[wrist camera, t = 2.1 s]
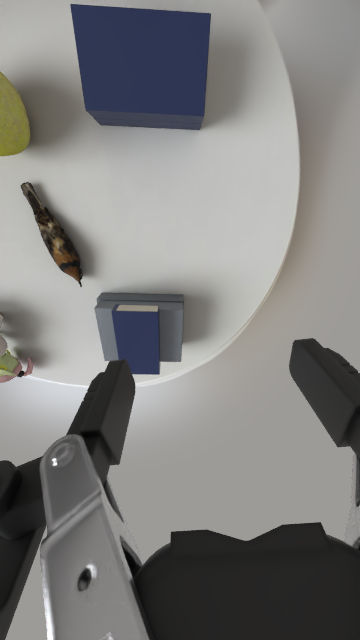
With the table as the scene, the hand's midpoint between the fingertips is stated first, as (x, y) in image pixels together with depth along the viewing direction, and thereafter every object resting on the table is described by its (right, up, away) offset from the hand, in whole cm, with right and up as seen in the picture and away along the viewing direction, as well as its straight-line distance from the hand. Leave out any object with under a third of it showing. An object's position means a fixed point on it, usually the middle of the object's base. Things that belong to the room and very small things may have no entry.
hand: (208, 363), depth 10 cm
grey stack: (-8, +2, +25) cm, 26 cm away
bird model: (-18, +14, +19) cm, 29 cm away
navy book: (-7, 0, +21) cm, 22 cm away
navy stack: (-5, +26, +11) cm, 29 cm away
